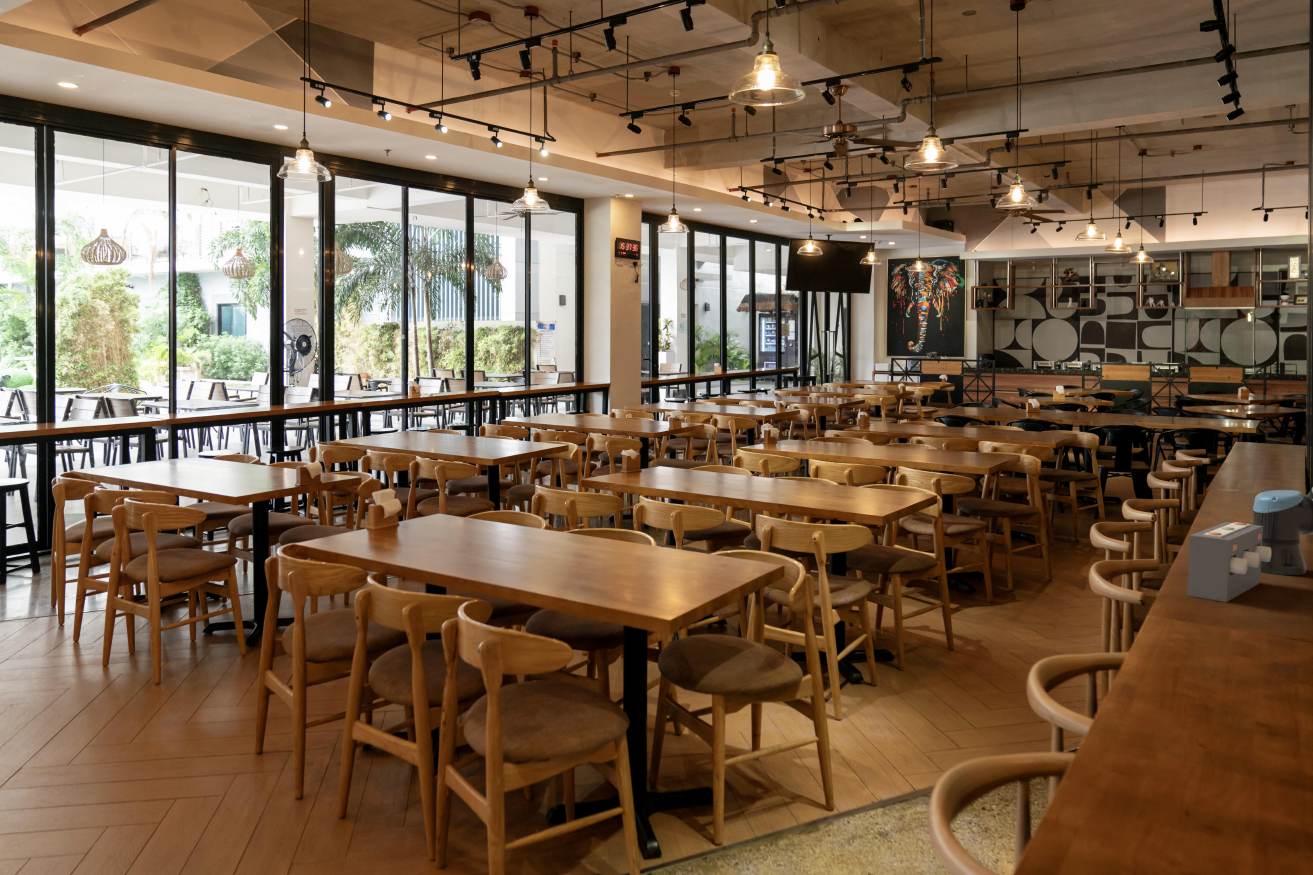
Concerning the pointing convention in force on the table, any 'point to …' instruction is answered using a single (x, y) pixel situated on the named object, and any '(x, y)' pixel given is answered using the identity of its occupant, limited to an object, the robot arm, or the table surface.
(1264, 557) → the button
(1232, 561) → the button
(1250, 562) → the button middle
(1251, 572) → the button panel
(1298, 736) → the table surface
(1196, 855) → the table surface
